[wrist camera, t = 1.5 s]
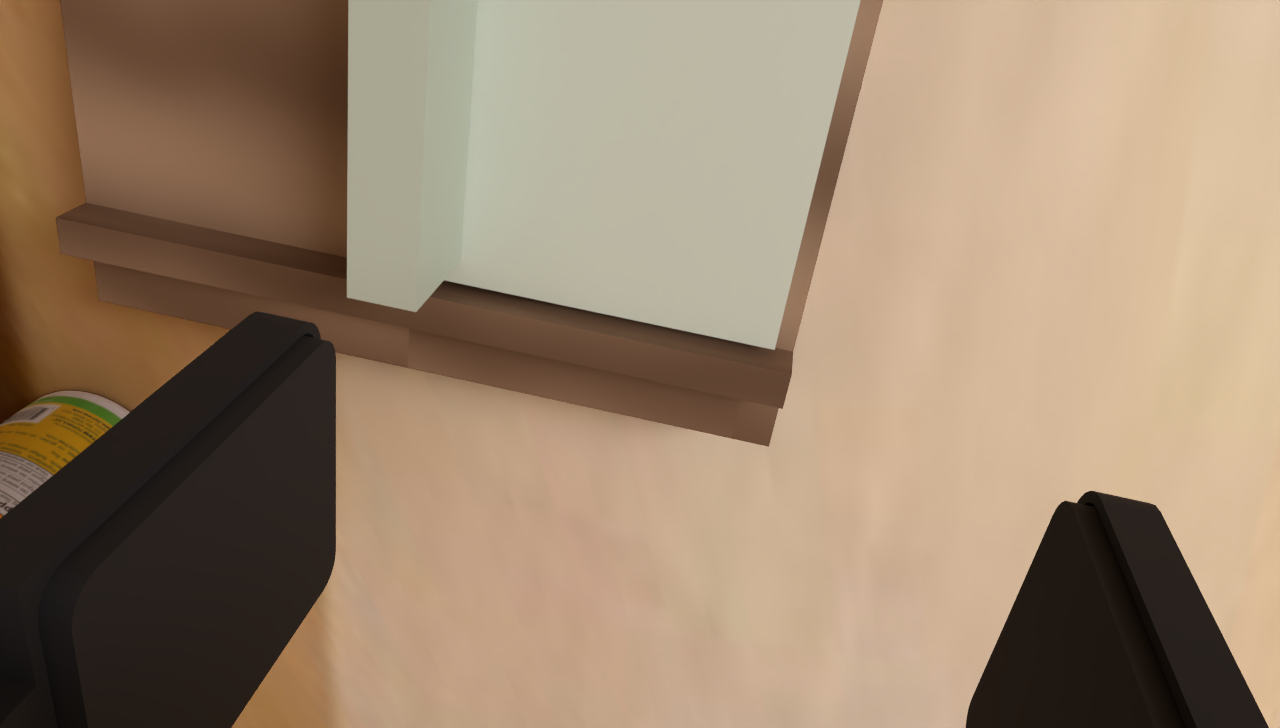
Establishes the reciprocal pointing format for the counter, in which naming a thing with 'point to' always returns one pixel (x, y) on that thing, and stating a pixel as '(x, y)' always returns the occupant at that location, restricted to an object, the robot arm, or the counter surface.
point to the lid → (591, 152)
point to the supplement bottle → (49, 439)
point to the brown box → (317, 216)
